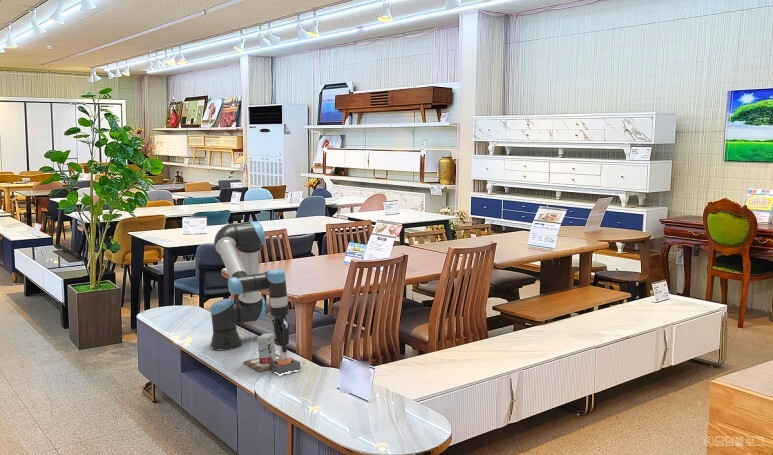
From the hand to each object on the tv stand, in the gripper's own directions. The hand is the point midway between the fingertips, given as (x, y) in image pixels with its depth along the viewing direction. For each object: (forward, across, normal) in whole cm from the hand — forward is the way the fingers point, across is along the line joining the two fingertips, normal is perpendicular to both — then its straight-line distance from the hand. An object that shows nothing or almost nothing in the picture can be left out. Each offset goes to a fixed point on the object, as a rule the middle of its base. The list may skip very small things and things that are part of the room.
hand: (284, 359), depth 296 cm
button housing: (+6, 0, 0) cm, 6 cm away
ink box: (+4, +16, +1) cm, 17 cm away
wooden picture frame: (+5, +16, +1) cm, 17 cm away
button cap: (+4, 0, 0) cm, 4 cm away
